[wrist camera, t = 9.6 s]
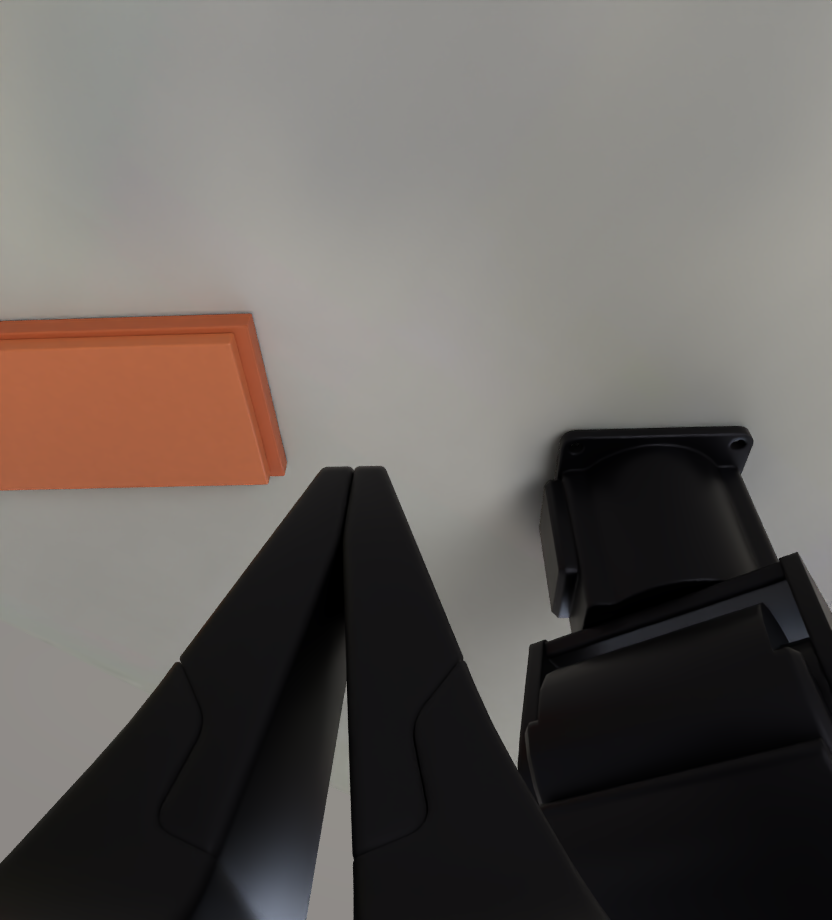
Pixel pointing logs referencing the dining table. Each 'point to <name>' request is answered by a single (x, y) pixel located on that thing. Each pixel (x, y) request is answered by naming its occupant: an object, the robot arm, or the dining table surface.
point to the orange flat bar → (135, 403)
